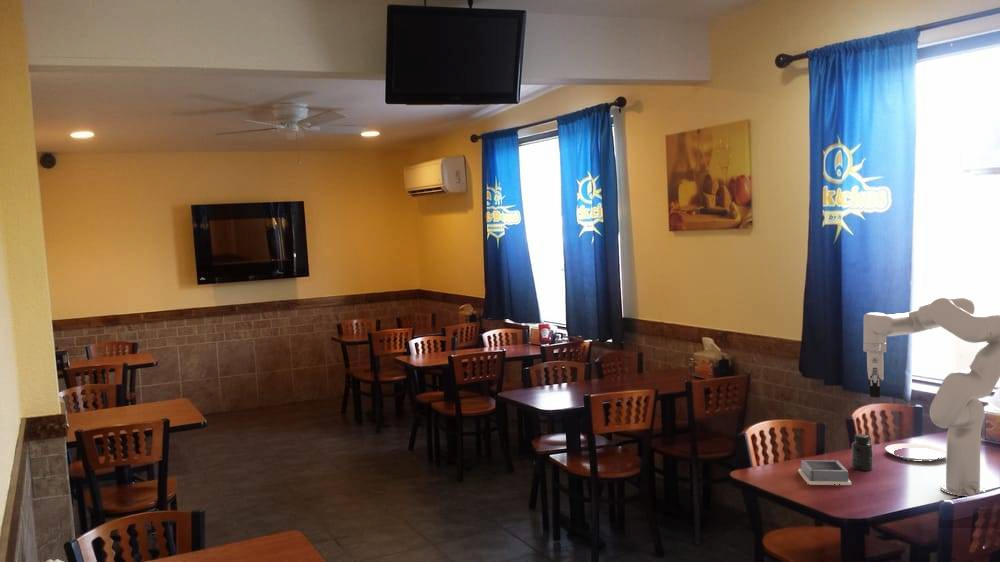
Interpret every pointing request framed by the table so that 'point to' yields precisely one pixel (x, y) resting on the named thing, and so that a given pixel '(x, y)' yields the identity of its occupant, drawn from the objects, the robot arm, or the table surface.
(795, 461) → the table surface
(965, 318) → the robot arm
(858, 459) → the supplement bottle
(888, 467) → the table surface
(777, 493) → the table surface
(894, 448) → the plate
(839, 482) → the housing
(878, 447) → the table surface
